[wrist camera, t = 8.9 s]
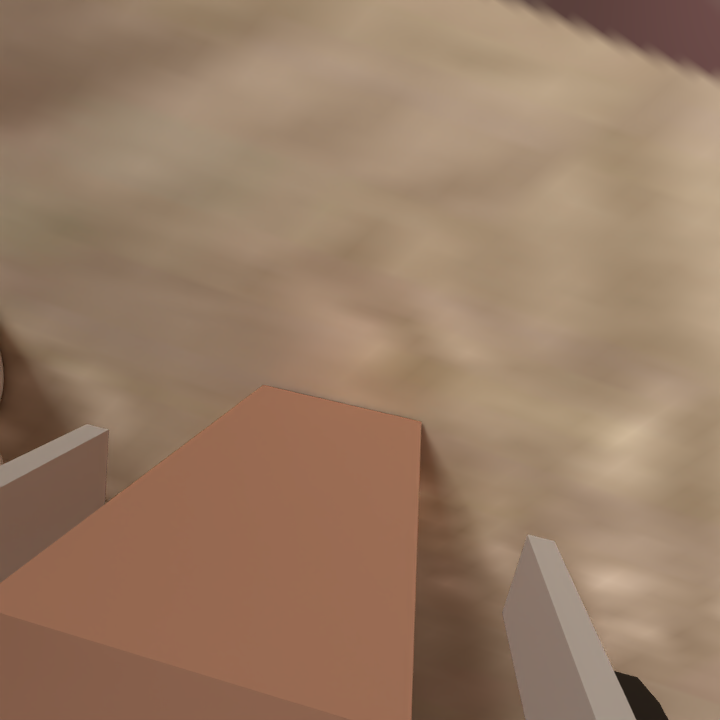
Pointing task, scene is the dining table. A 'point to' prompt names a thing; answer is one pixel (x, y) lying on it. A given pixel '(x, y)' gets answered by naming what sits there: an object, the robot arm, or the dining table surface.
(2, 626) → the stub
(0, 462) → the mug
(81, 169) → the dining table surface
